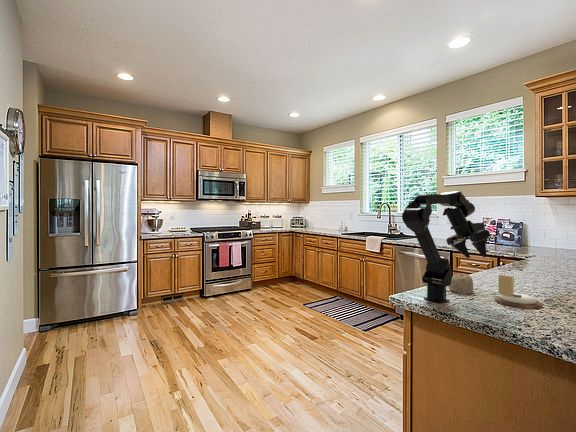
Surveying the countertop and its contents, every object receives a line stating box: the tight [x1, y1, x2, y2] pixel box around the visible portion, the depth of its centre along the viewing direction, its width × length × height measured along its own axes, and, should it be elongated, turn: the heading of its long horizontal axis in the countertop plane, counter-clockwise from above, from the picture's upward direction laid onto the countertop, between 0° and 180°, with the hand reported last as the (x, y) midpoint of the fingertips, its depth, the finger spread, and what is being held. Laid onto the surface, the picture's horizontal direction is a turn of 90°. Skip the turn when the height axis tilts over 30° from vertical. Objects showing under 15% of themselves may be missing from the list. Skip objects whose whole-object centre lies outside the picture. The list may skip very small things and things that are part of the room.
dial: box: [498, 273, 538, 304], centre depth 112 cm, size 11×12×8 cm
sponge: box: [448, 273, 474, 294], centre depth 131 cm, size 9×10×10 cm
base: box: [494, 295, 543, 310], centre depth 112 cm, size 14×14×1 cm
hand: (476, 257), depth 121 cm, fingers open, 9 cm apart
